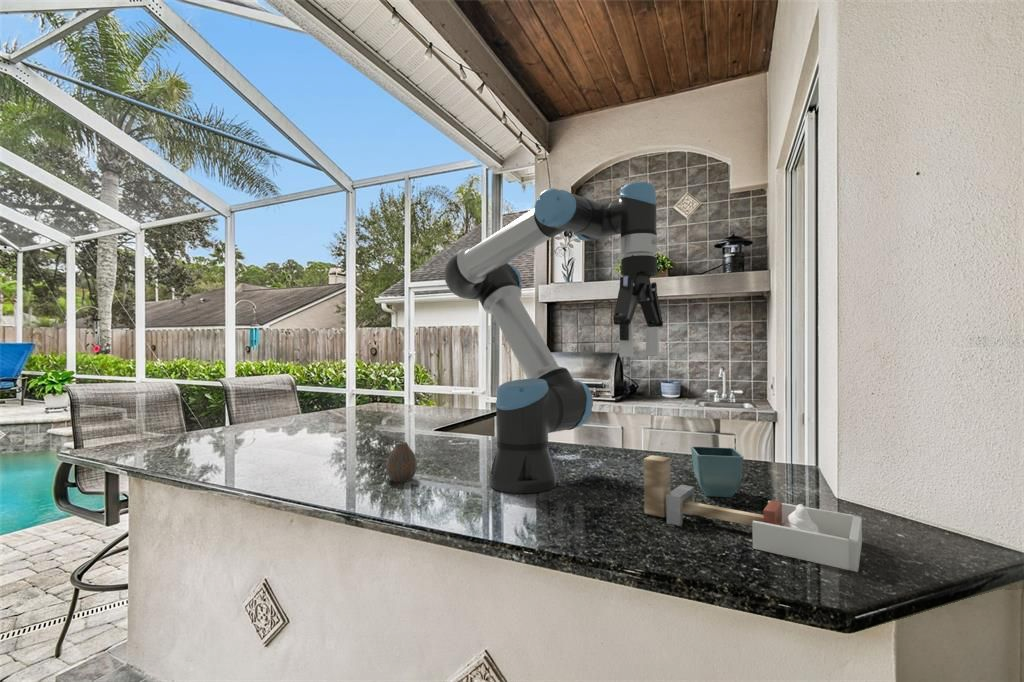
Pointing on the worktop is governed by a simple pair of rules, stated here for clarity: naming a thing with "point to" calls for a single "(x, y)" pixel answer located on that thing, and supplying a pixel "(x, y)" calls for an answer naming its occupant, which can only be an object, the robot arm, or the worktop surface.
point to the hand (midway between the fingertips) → (640, 356)
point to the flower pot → (717, 470)
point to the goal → (814, 538)
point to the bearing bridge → (678, 504)
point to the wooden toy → (660, 486)
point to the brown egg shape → (401, 463)
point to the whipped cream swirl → (800, 520)
